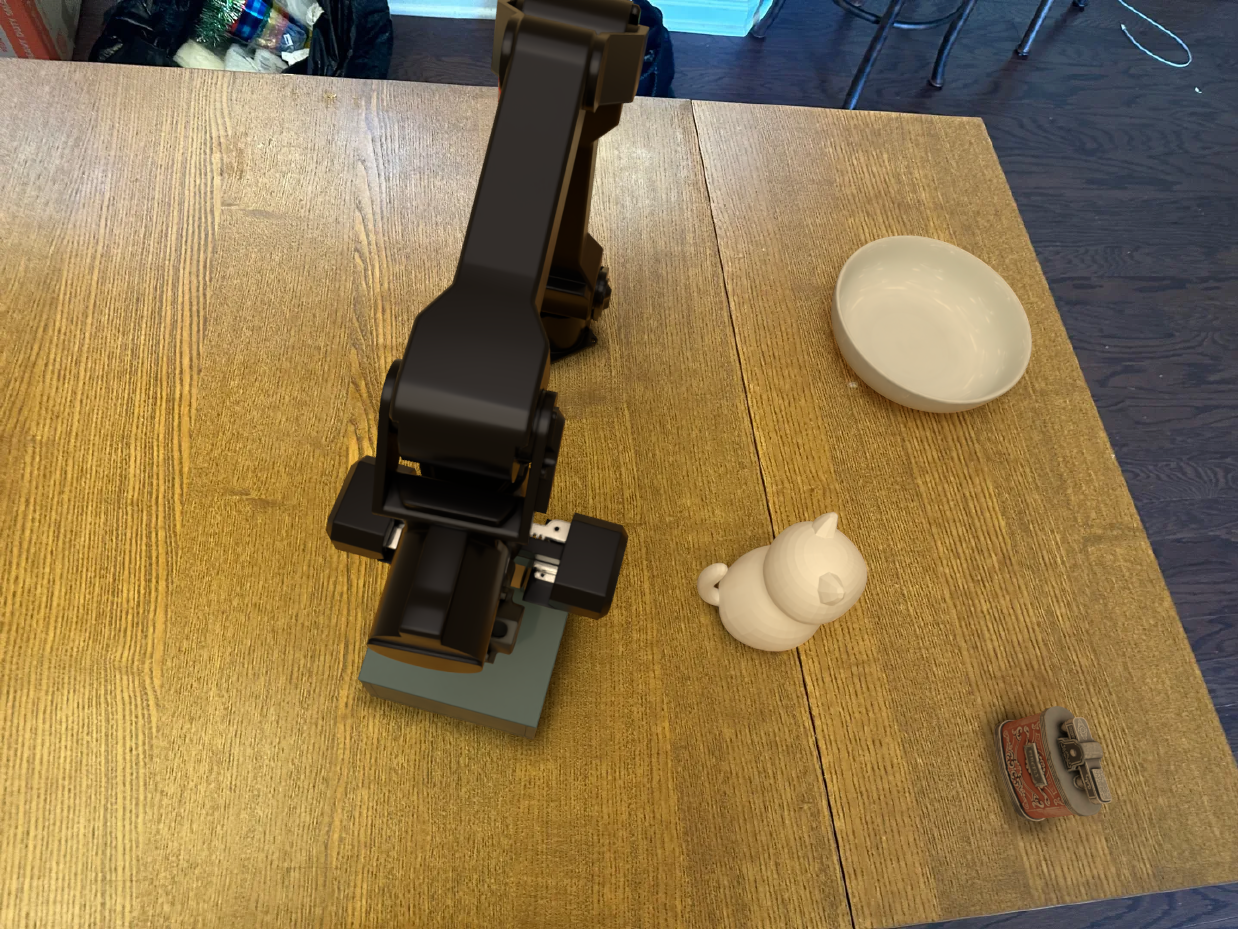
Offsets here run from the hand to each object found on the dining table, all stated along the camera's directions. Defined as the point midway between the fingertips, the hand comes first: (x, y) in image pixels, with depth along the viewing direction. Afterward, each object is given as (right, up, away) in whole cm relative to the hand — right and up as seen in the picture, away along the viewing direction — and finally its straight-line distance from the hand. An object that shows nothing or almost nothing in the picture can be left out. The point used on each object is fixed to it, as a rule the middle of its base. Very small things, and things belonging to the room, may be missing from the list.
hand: (483, 574), depth 60 cm
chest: (-2, -7, +7) cm, 11 cm away
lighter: (+44, -18, +9) cm, 48 cm away
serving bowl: (+41, +20, +28) cm, 54 cm away
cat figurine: (+22, -5, +12) cm, 26 cm away
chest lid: (-1, -4, +1) cm, 4 cm away
